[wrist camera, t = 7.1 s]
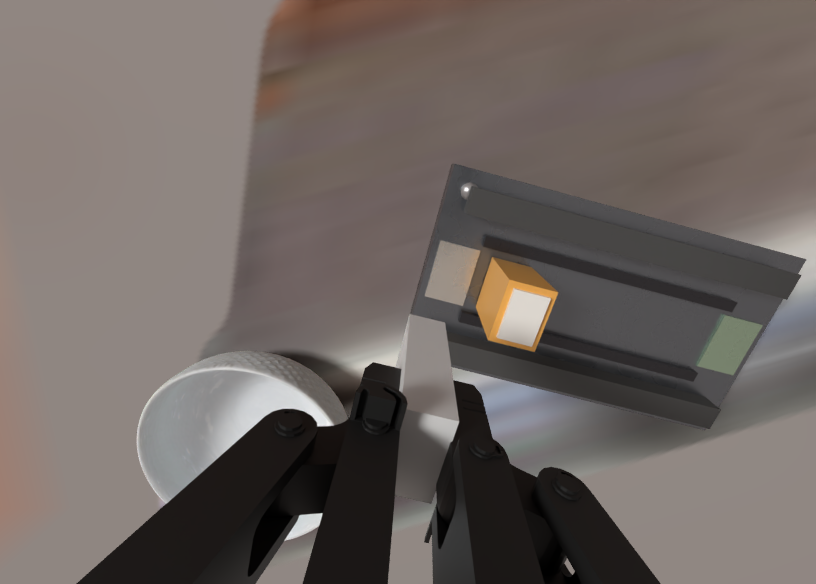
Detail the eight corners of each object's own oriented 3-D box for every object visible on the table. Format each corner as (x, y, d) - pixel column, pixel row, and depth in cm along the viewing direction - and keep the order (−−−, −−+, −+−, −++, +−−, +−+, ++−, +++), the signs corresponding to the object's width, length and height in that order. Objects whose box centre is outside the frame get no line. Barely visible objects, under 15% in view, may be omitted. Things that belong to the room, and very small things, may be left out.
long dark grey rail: (470, 185, 27) (474, 186, 25) (778, 268, 28) (801, 275, 26) (463, 211, 28) (466, 213, 26) (765, 291, 29) (786, 299, 27)
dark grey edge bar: (428, 326, 31) (429, 336, 29) (704, 396, 31) (720, 409, 30) (423, 346, 31) (423, 357, 29) (694, 414, 32) (709, 429, 30)
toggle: (492, 256, 28) (510, 281, 22) (531, 267, 29) (560, 294, 23) (475, 306, 30) (488, 342, 24) (513, 316, 30) (535, 354, 24)
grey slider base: (451, 164, 30) (455, 163, 26) (770, 250, 31) (814, 261, 27) (403, 338, 34) (401, 357, 31) (682, 408, 35) (709, 434, 32)
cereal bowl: (381, 355, 35) (370, 401, 28) (343, 496, 40) (327, 563, 33) (193, 308, 34) (136, 343, 27) (179, 458, 39) (129, 518, 33)
